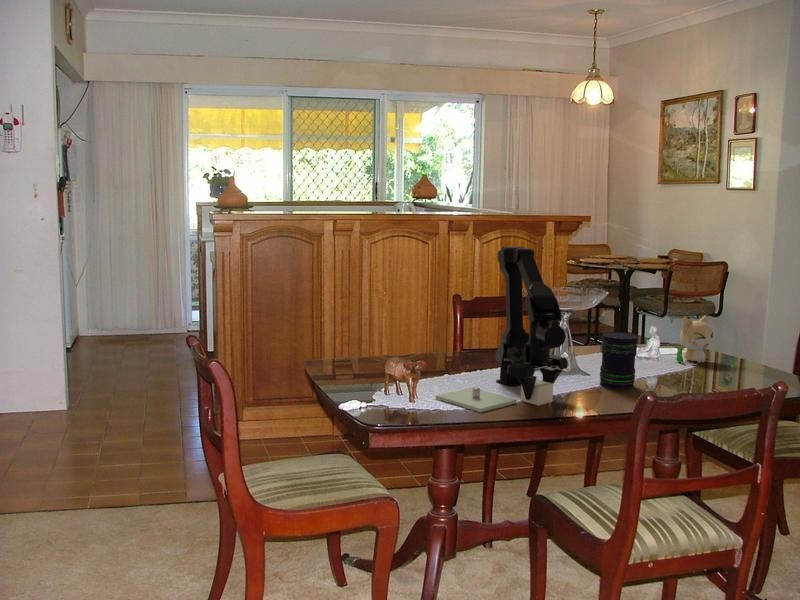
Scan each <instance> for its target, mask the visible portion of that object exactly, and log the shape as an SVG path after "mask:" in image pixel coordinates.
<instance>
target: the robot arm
mask: <svg viewBox="0 0 800 600" xmlns="http://www.w3.org/2000/svg"><path fill="white" fill-rule="evenodd" d="M497 261H498V265H499V269H500V271H501V273H502V274H503V276H504V278H505V279H504V280H505V310H506V311H505V312H506V315H505V317H506V328H505V330H504V331H503V333H502V334H501V335H502V336H501V337H500V338H501V339H500V344H499V346H498V348H497V350H496V352H495V360H496V362H498V363H499V364H500V368H499V369H500V370H499V372H500V373H499V379H496V380H495V382H496V383H499V384H504V385H507V386H510V387H515V386H519V385H520V386H521V385H522V388H523V391H524V395H525V398H526V400H530V398H531V395H532V392H533V388H534V385H535V382H536V379H537V378H538V376H535V375H534V374H535V371H538V370H539V371H540V373H541V374H542V381H545V382H549V383H553V385H554V384H555V383H556V380H557V379H558V378H559V376H560V374H561V373H562V372H563V370H564V369H568V364H569V362H568V359H567V358H566V357H564V356H559V355H554V354H551V349H552V350H553V349H556V348H559V347H562V345H563V344H564V343H565V341H566V338H567V334H566V331H565V330H564V329H563V327H561V326H560V322H561V321H562V315H563V313H562V311H561V308H560V305H559V302H558V298H557V297H556V295H555V293H554V292H553V289H551V288H550V287H549V286H548V285H546V284H545V283H544V280H543V278H542V274H541V273H540V270H539V267H538V264H537V262H536V260H535V251H534V249H532V248H529V247H526V248H525V247H524V246H505V245H504V246H502V247H501V249H499V250H498V251H497ZM523 284H524V287H525V289H526V293H527V295H526V297H525V300H524V301H525V309H526V312H527V314H528V317H527V320H528V321H529V328H528V332H527V331H526V330H525V328H524V308H523V306H524V305H523V303H524V302H523V298H524V297H523ZM526 363H528V364H526Z"/></svg>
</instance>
